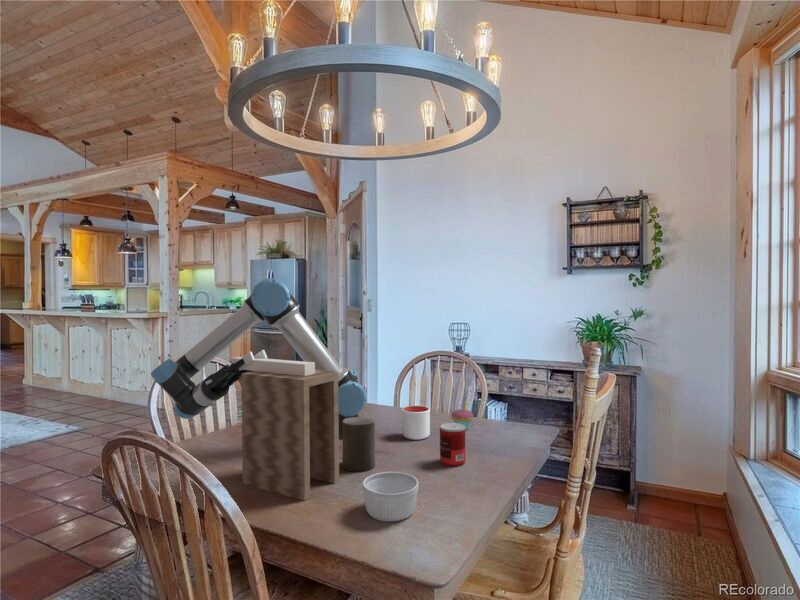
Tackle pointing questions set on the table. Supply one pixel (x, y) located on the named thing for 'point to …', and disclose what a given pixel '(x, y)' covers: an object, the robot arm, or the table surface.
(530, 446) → the table surface
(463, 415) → the cupcake
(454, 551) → the table surface
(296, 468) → the stand
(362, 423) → the pillar candle
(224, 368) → the robot arm
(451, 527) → the table surface
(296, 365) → the bar
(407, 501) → the ramekin
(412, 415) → the cup
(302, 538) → the table surface
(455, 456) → the canned food
